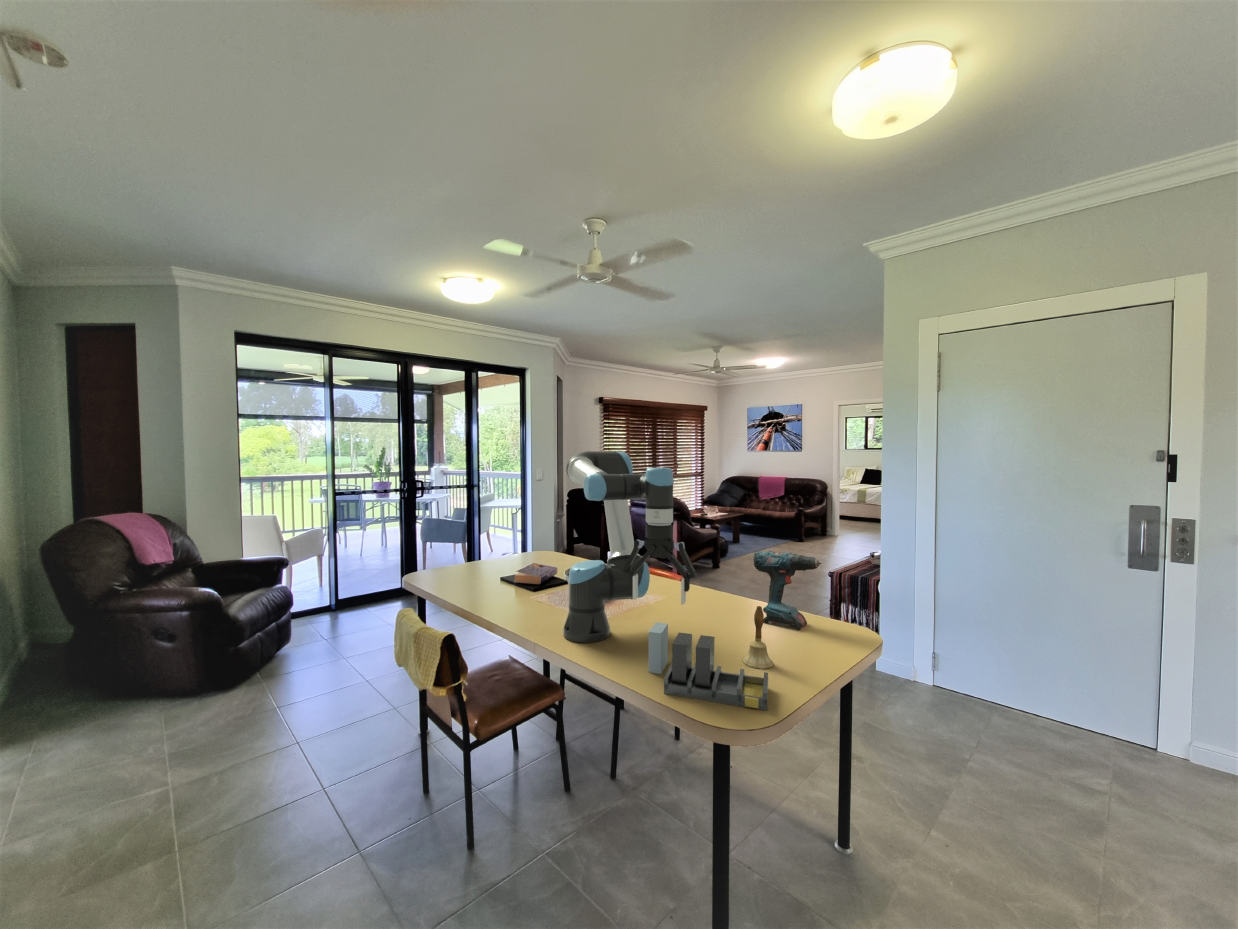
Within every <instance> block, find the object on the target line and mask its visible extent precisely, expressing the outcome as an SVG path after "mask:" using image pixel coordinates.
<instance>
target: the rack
mask: <svg viewBox="0 0 1238 929" xmlns="http://www.w3.org/2000/svg"><path fill="white" fill-rule="evenodd" d="M671 644H672V645H671V647H672V648H671V652H672V653H671V663H670V666H669V667H668V669H667V671H666V672H665V675H664V677H663V694H664V695H671V696H677V697H683V698H688V699H694V700H701V701H708V702H713V703H719V704H724V705H730V706H737V707H743V708H748V709H754V710H761V711H768V698H769V697H768V696H769V672H766V671H764V672H763V677H761V676H752V675H747V674H745V669H744V668H740V670H739V674H737V673H732V672H725V671H722V665H717V666H716V669H715V636H711V635H702V634H701V635H700V636H699V638H698V641H697V642H696V645H695V662H694V665H693V664H692V663H693V653H692V652H693V651H692V650H693V634H692V633H686V632H680V631H679V632H677V635H676V636H675V638H674V640H673V642H672V643H671ZM692 666H693V667H692Z"/></svg>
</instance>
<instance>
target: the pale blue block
mask: <svg viewBox="0 0 1238 929" xmlns="http://www.w3.org/2000/svg"><path fill="white" fill-rule="evenodd" d="M668 640H669V623H666V622H658V621H656V622H655V623H654V624H653V625H652V627H651V628H650V629H649V631H648V666H647V667H648V673H651V674H658V675H662V673H663V672H664V670H665V668H666V666H667V664H668V663H669V659H668V658H669V641H668Z"/></svg>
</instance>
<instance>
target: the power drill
mask: <svg viewBox="0 0 1238 929" xmlns="http://www.w3.org/2000/svg"><path fill="white" fill-rule="evenodd" d="M819 560H820V559H818V558H816V557H814V556H805V555H802V554H796V553H794V554H793V553H792V552H787V551H786V552H785V551H784V552H781V551H780V552H776V551H772V550H768V551H757V552H755V553H754V554H753V566H754V568H755V569H756V570H757V571H758V572H762V573H765V574H767V575H768V576H769V578H770V580H769V582H770V583H769V589H768V602H767V605H766V606H764V607H762V611H763V613H765V616H764V621H763V624H767V625H770V626H771V625H772V626H775V627H776V626H777V627H781V628H785V629H792V630H794V631H801V630H802V629H804V628H805V626H807V624H808V622H807V619H806V617H805V615H803V614H802V613H801V612H800V611H798V609H797V607H796V606H794V605H792V604H787V603H786V602H785V603H784V602H782V601H783V600H782V599H783V594H784V590H785V586H787V585H791V584H792V583H793V582H792V579H791V577H793V576H795V574H796V572H797V571H798V572H799V571H803V572H805V571H806V570H808V571H809V570H817V569H818V567H820V565H822V563H821V562H820V561H819Z"/></svg>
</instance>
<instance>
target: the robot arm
mask: <svg viewBox="0 0 1238 929" xmlns="http://www.w3.org/2000/svg"><path fill="white" fill-rule="evenodd" d="M633 471H634V468H633V463H632V460H631V457H630V456H629V454H628V453H626V452H625V451H624V452H623V451H617V450H612V451H594V450H593V451H590V450H588V451H586V450H585V451H582V452H578V453H577V454H574V455H572V457H571V458H569V460H568V461H567V463H566V467H565V472H566V475H567V477H568V478H569V480H570V481H572V482H573V483H574V484H578V485H582V486H583V493H584V497H585V498H586V500H588V501H596V502H600V501H603V503H604V504H603V505H604V512H605V518H606V520H605V521H606V527H607V528H606V529H607V535H608V536H607V537H608V543H609V550H610V551H609V552H610V556H609V558H607V560H606V563H607V564H606V563H605V562H604V561H603V560H601V559H595V560H594V559H590V560H584V561H580V562H577V563H575V564H573V565H572V566H571V567H570V569H569V574H568V612H567V617H566V619H565V622H564V625H563V637H564V638H565V639H566V640H568V641H571V642H575V643H587V644H588V643H596V642H600V641H603V640H606V639H607V638H608V637H610V635H611V627H610V623H609V620H608V617H607V613H606V610H605V603H606V602H609V601H611V602H612V601H622V600H633V601H634V600H637V599H640V598H643V597H645V596H646V594H647V592H648V591H649V590H648V589H649V586H650V582H651V581H650V580H651V579H650V575H651V574H650V567H649V565H648V563H647V562H646V561H647V560H648V559H649V558H650V557H652V558H653V559H655V558H656V559H657V558H660V559H667V560H669V562H670V563H671V564H672V565H673V567H674V568H675V569H676V571H677V572H678V573H679V574H680V576H681V577H682V578H681V580H680V581H681V582H680V587H681V588H680V592H681V593H680V596H681V597H680V604H681V605H685V604H686V601H687V592H689V591H690V588H691V586H690V584H691V583H690V581H691V579H694V578H696V576H697V575H698V574H697V572H696V570H695V567H694V565H693V563H692V560H691V559H690V557H689V554H688V552H687V551H686V545H685V542H684V541H681V542H674V526H673V524H672V523H673V522H674V481H675V480H674V472H673V471H674V470H672V468H671V467H647V469H646V471H645V472H641V473H634V472H633ZM628 500H629V501H630V500H645V523H646V525H645V540H641V539H640V538H639V539H638V538H637V539H635V538H634V535H633V534H634V533H633V526H632V520H631V515H630V514H631V512H630V506H629V501H628ZM634 539H635V540H634ZM643 547H644V548H645V550H646V552H645V553H643V556H642V557H641V555H640V554H639V551H640V549H642V548H643ZM674 548H675V549H676V551H677V552H679V554H680V557H681V560H682V561H683V563H684V566H685V567H686V568H685V567H684V566H683V565H682V563H681V562H680V560H679V559H678V558H677V557H676V554H674V552H673V550H674Z"/></svg>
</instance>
